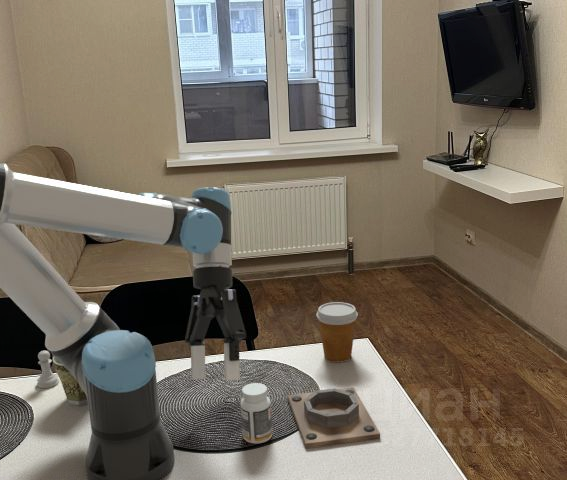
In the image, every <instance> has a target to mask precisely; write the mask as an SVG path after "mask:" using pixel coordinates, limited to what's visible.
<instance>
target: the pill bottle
mask: <svg viewBox="0 0 567 480" xmlns="http://www.w3.org/2000/svg"><path fill="white" fill-rule="evenodd" d="M241 395H242V399H241V400H240V404H239V406H240V418H241V420H240V421H241V433H242V438H243V440H245V441H246V442H248V443H250V444H255V445H256V444H262V443H266V442H268V441H269V440H270V439H271V438H272V436H273V432H274V431H273V418H272V403H271V402H272V401H271V399H270V397H269V396H268V387H267V385H265V384H263V383H258V382H252V383H249V384H246V385H244V386H243V387H242V388H241Z"/></svg>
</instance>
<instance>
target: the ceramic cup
mask: <svg viewBox="0 0 567 480" xmlns="http://www.w3.org/2000/svg"><path fill="white" fill-rule="evenodd" d="M52 363H53V366H54V369H55V372H56V375H57V376H58V379H59V381H60V383H61V386H62V388H63V391H64V393H65V397H66V400H67V403H68V404H70V405H74V406H85V405H88V401H87V397H86V394H85V393H84V391H83V390H82V388H81V387H80V385H79V384H78V382H77V381H76V379H75V378H74V376H73V375H72V374H71V373H70V372H69V371H68V370H67V368H66V367H65V366H64V365H63V364H62V363H61V362H60V361H59V360H58V359H57V358H56V357H55V356H54V355H53V357H52Z"/></svg>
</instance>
